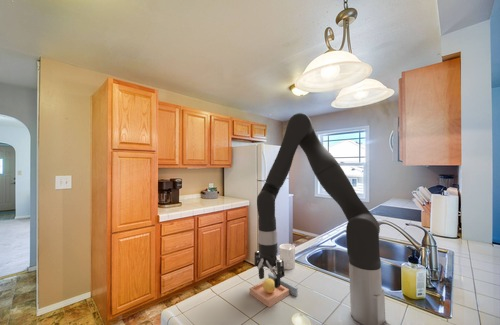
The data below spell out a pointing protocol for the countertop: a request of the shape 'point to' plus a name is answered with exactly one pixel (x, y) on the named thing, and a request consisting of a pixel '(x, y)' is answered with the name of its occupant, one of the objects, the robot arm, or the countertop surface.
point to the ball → (268, 285)
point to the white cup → (287, 255)
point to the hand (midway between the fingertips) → (269, 282)
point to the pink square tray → (269, 294)
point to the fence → (286, 285)
